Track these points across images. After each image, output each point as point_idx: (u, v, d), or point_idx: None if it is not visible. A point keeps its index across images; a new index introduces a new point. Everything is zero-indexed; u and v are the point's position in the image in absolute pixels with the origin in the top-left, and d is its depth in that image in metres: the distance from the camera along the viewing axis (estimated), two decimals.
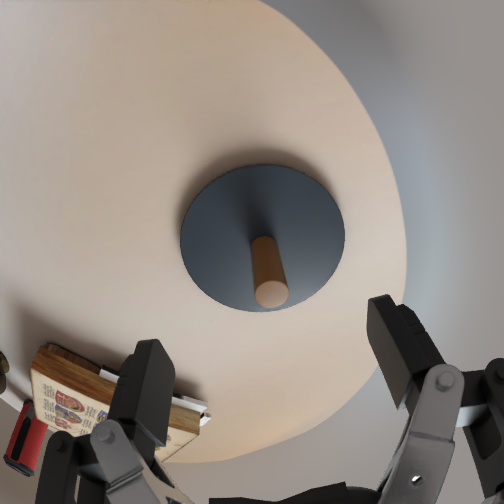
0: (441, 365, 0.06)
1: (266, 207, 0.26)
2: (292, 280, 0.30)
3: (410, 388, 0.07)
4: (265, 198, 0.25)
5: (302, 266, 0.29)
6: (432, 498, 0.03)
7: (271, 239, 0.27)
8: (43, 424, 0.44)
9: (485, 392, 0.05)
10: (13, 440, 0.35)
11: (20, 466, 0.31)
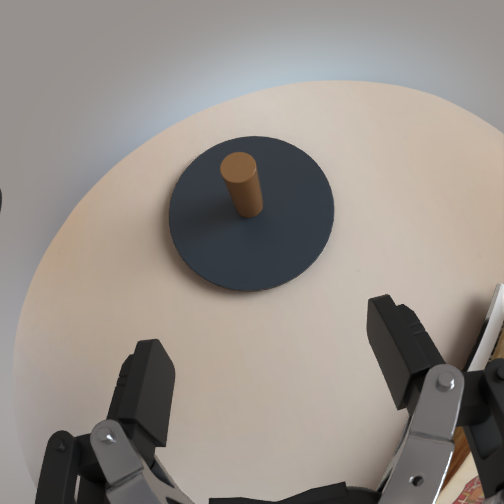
0: (441, 365, 0.06)
1: (206, 204, 0.28)
2: (289, 176, 0.27)
3: (410, 388, 0.07)
4: (198, 205, 0.28)
5: (273, 168, 0.28)
6: (432, 498, 0.03)
7: None
8: None
9: (485, 392, 0.05)
10: None
11: None
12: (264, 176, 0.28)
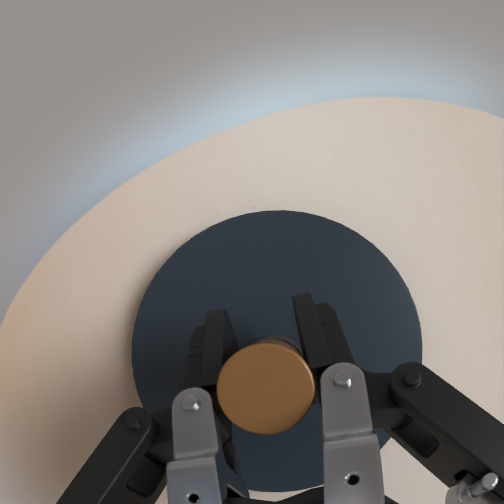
0: (342, 363, 0.08)
1: None
2: (351, 302, 0.14)
3: (317, 383, 0.08)
4: (180, 354, 0.14)
5: (320, 286, 0.14)
6: (378, 489, 0.04)
7: None
8: None
9: (399, 403, 0.06)
10: None
11: None
12: None
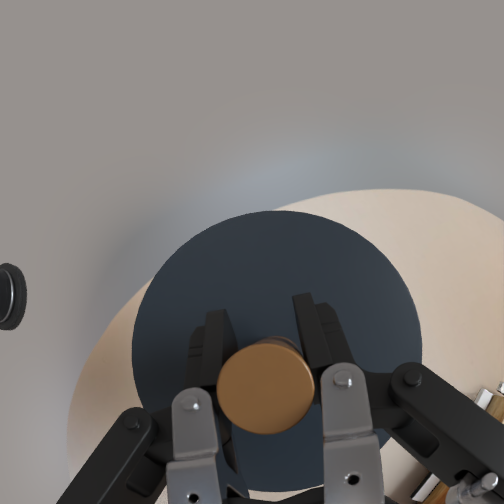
0: (343, 363, 0.08)
1: None
2: (351, 302, 0.14)
3: (317, 383, 0.08)
4: (180, 354, 0.14)
5: (320, 286, 0.14)
6: (378, 489, 0.04)
7: None
8: None
9: (399, 403, 0.06)
10: None
11: None
12: None
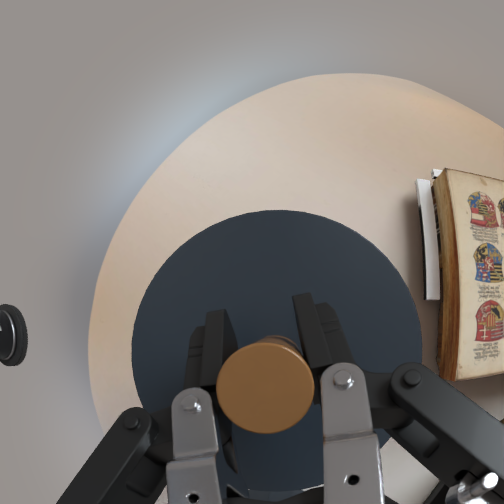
0: (343, 363, 0.08)
1: None
2: (351, 301, 0.14)
3: (317, 383, 0.08)
4: (180, 354, 0.14)
5: (319, 285, 0.14)
6: (378, 489, 0.04)
7: None
8: None
9: (399, 403, 0.06)
10: None
11: None
12: None
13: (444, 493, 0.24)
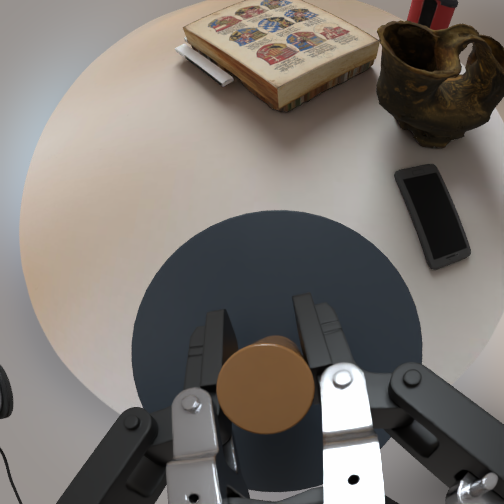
0: (342, 363, 0.08)
1: None
2: (351, 302, 0.14)
3: (317, 383, 0.08)
4: (180, 354, 0.14)
5: (320, 285, 0.14)
6: (378, 489, 0.04)
7: None
8: None
9: (399, 403, 0.06)
10: (434, 23, 0.29)
11: None
12: None
13: (416, 189, 0.34)
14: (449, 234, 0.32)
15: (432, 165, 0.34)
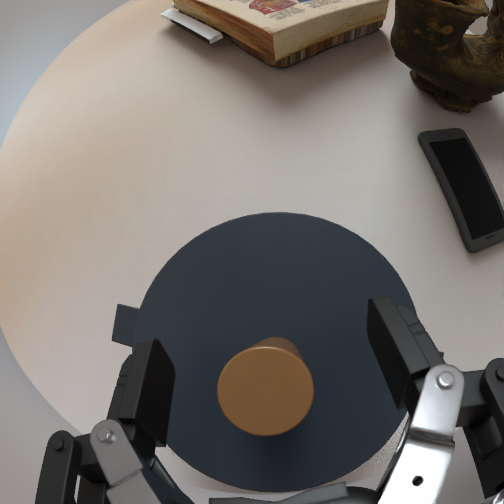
0: (441, 365, 0.06)
1: (195, 356, 0.14)
2: (351, 303, 0.14)
3: (410, 388, 0.07)
4: (181, 356, 0.14)
5: (320, 287, 0.15)
6: (432, 498, 0.03)
7: None
8: None
9: (485, 392, 0.05)
10: None
11: None
12: (303, 304, 0.14)
13: (445, 154, 0.25)
14: (487, 209, 0.23)
15: (460, 129, 0.26)
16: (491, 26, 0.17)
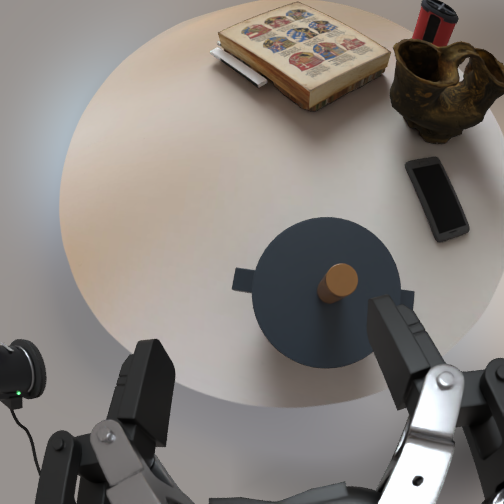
0: (441, 365, 0.06)
1: (289, 289, 0.29)
2: (364, 262, 0.29)
3: (410, 388, 0.07)
4: (281, 290, 0.29)
5: (349, 254, 0.30)
6: (432, 498, 0.03)
7: (318, 284, 0.29)
8: None
9: (485, 392, 0.05)
10: (437, 36, 0.35)
11: (428, 8, 0.31)
12: (341, 261, 0.29)
13: (423, 176, 0.40)
14: (451, 213, 0.38)
15: (435, 157, 0.41)
16: (466, 78, 0.32)
